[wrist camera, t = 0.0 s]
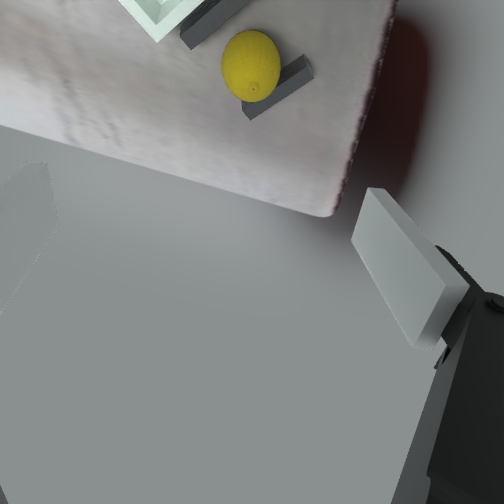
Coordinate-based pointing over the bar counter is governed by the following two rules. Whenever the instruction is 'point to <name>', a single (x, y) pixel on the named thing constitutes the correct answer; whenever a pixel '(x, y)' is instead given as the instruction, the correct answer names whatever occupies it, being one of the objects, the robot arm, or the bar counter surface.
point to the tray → (159, 14)
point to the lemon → (251, 66)
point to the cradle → (214, 15)
